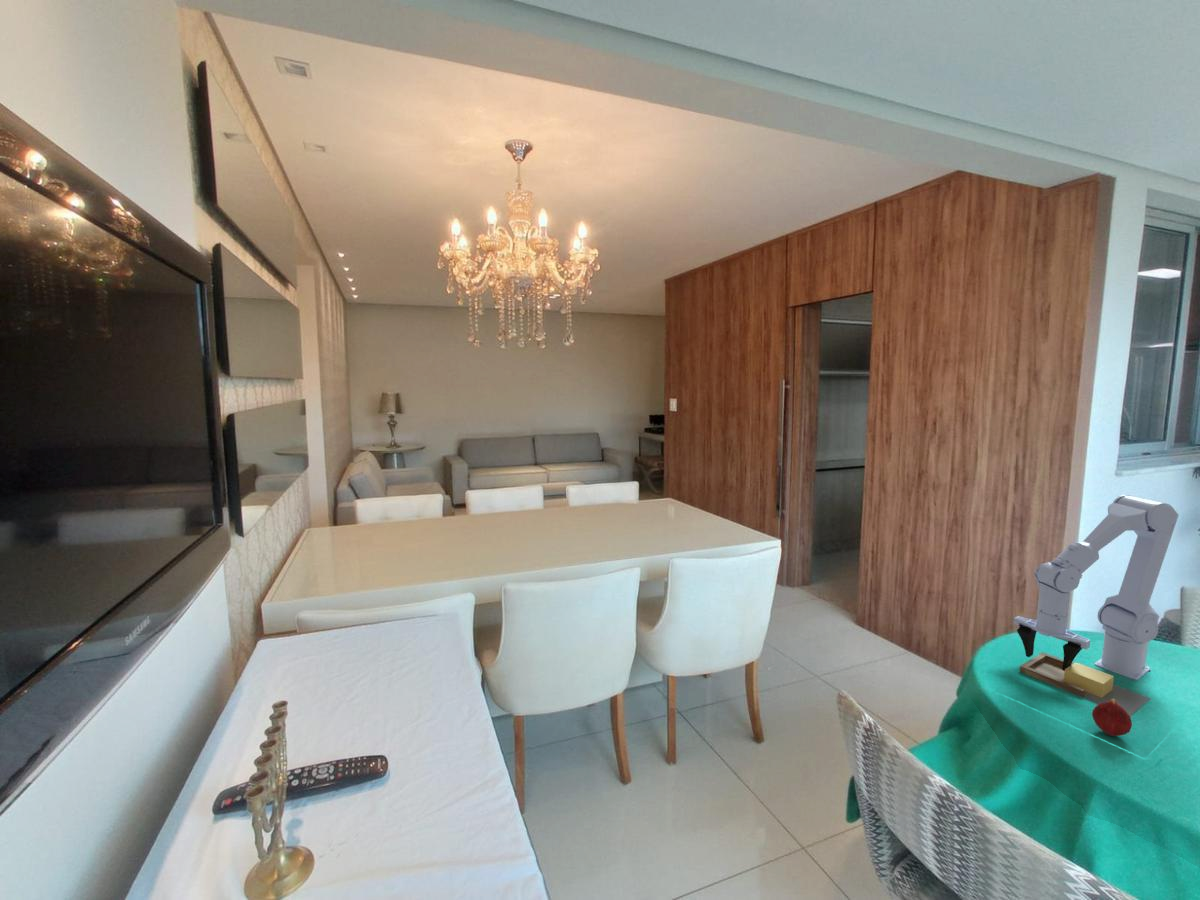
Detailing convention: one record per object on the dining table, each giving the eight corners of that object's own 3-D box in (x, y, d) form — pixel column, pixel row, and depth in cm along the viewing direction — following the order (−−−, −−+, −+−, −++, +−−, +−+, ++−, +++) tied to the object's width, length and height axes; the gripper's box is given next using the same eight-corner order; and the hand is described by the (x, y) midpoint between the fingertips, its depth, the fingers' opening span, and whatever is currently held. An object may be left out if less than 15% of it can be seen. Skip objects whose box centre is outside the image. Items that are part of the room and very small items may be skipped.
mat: (1104, 681, 125) (1104, 680, 125) (1150, 699, 118) (1150, 698, 118) (1082, 698, 119) (1082, 697, 119) (1130, 717, 112) (1130, 716, 112)
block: (1074, 675, 128) (1075, 662, 127) (1112, 689, 122) (1113, 676, 121) (1063, 682, 125) (1064, 669, 124) (1101, 697, 119) (1103, 683, 118)
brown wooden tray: (1042, 658, 136) (1042, 652, 136) (1103, 681, 125) (1104, 674, 125) (1019, 672, 130) (1019, 665, 130) (1082, 698, 119) (1082, 691, 119)
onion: (1137, 746, 104) (1142, 710, 103) (1103, 743, 105) (1108, 707, 104) (1115, 727, 110) (1119, 692, 108) (1083, 724, 111) (1087, 690, 110)
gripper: (1010, 604, 132) (1005, 653, 134) (1083, 627, 120) (1077, 681, 122) (1023, 598, 136) (1018, 646, 138) (1096, 620, 123) (1089, 672, 125)
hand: (1047, 662), depth 130 cm, fingers open, 7 cm apart
